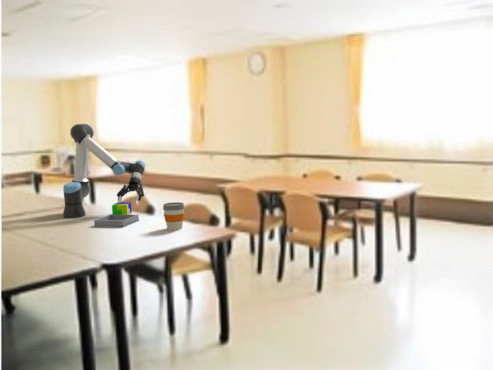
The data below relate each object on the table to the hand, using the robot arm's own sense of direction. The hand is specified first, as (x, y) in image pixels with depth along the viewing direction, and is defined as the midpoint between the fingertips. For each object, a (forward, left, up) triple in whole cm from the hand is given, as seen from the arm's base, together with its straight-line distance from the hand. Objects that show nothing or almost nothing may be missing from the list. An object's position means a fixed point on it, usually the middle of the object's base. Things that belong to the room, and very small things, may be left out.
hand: (127, 204), depth 363 cm
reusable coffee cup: (+49, -33, -9) cm, 60 cm away
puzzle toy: (-1, -5, -9) cm, 10 cm away
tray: (+4, -23, -8) cm, 24 cm away
